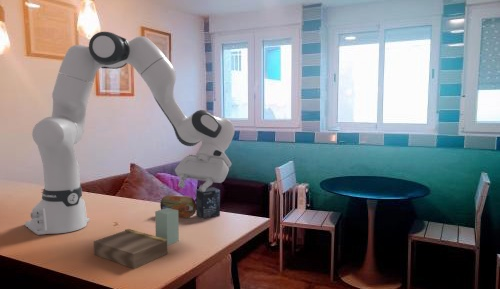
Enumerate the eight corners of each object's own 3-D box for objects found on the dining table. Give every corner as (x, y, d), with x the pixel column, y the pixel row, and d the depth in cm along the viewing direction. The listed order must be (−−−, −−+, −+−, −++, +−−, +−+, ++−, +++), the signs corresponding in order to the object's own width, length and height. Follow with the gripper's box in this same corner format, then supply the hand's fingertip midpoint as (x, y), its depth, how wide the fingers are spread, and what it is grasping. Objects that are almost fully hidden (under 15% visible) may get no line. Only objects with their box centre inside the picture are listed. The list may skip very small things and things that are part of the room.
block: (155, 242, 116) (155, 211, 115) (167, 237, 120) (166, 207, 119) (167, 245, 113) (166, 214, 112) (178, 240, 117) (178, 210, 116)
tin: (160, 215, 145) (159, 194, 144) (164, 213, 148) (164, 192, 147) (193, 219, 139) (193, 198, 139) (197, 217, 142) (197, 196, 142)
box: (202, 219, 140) (202, 191, 139) (195, 215, 145) (195, 189, 144) (220, 216, 144) (220, 189, 143) (213, 212, 149) (213, 186, 148)
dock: (94, 254, 106) (93, 240, 106) (128, 241, 116) (127, 228, 116) (134, 268, 97) (133, 253, 96) (167, 253, 107) (167, 239, 107)
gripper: (182, 149, 135) (163, 179, 128) (228, 153, 124) (209, 187, 117) (191, 159, 139) (172, 190, 132) (235, 164, 128) (218, 197, 121)
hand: (190, 188), depth 125 cm, fingers open, 8 cm apart
